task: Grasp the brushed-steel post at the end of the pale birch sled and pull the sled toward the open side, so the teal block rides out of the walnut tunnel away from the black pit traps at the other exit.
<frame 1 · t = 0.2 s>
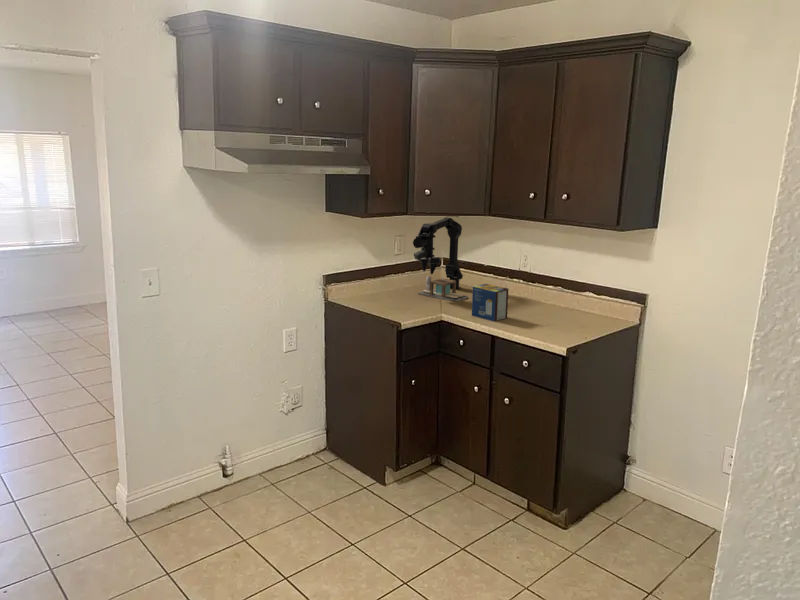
hand: (427, 272, 361), 13 cm above the worktop, fingers open, 9 cm apart
tunnel: (442, 296, 362), on the worktop
teal block: (442, 292, 362), point 2 cm above the worktop, touching sled
sled: (443, 286, 361), point 6 cm above the worktop, slide at 0.0 cm, touching teal block
protein box: (489, 317, 320), on the worktop
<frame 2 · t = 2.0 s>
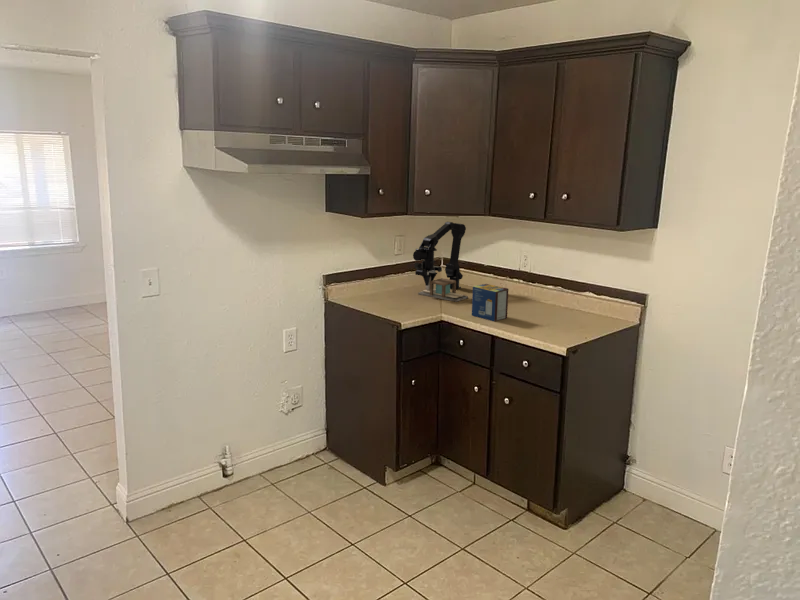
hand: (428, 285, 367), 5 cm above the worktop, fingers closed on sled, 3 cm apart
sled: (443, 286, 361), point 6 cm above the worktop, slide at 0.0 cm, touching gripper, teal block
everything else where it was.
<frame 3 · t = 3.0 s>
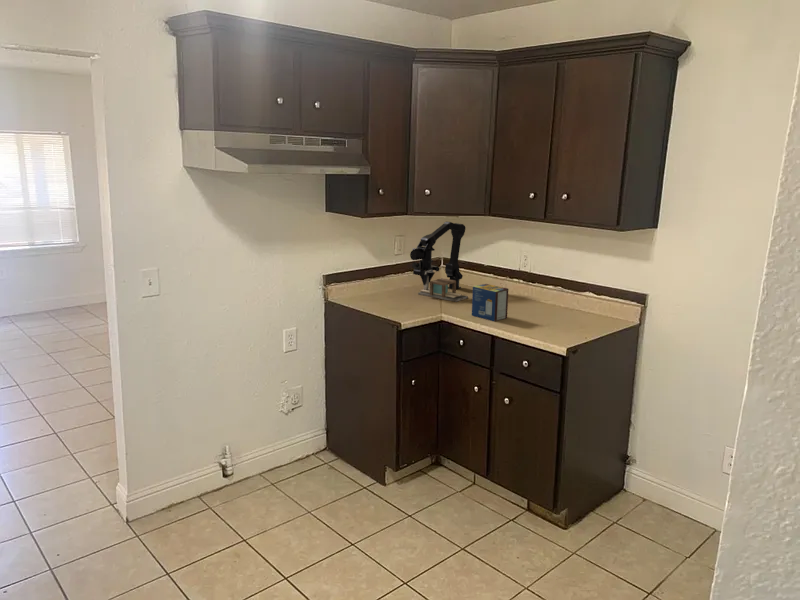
hand: (426, 284, 368), 5 cm above the worktop, fingers closed on sled, 3 cm apart
teal block: (440, 292, 363), point 2 cm above the worktop, touching sled
sled: (440, 286, 362), point 6 cm above the worktop, slide at -1.7 cm, touching gripper, teal block
everything else where it was.
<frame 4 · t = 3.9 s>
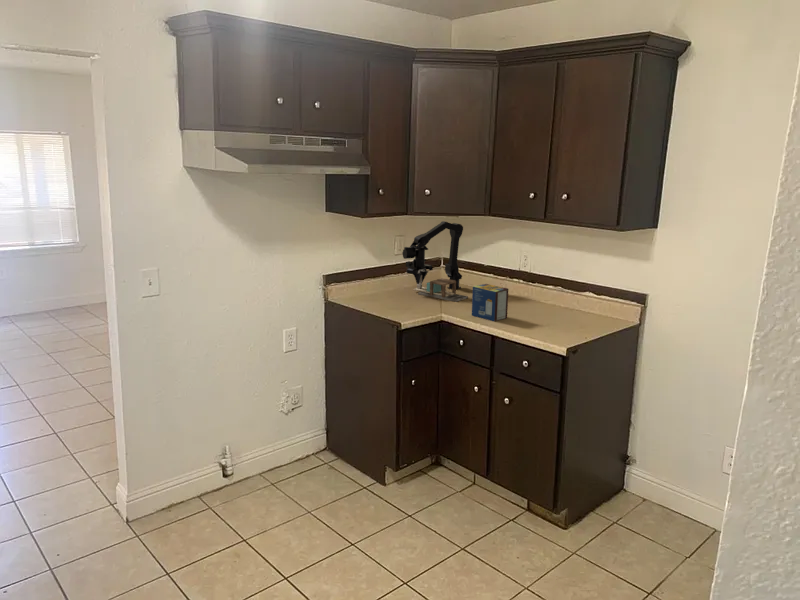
hand: (419, 283, 371), 5 cm above the worktop, fingers closed on sled, 3 cm apart
teal block: (433, 291, 366), point 2 cm above the worktop, touching sled
sled: (433, 284, 365), point 6 cm above the worktop, slide at -6.6 cm, touching gripper, teal block
everything else where it was.
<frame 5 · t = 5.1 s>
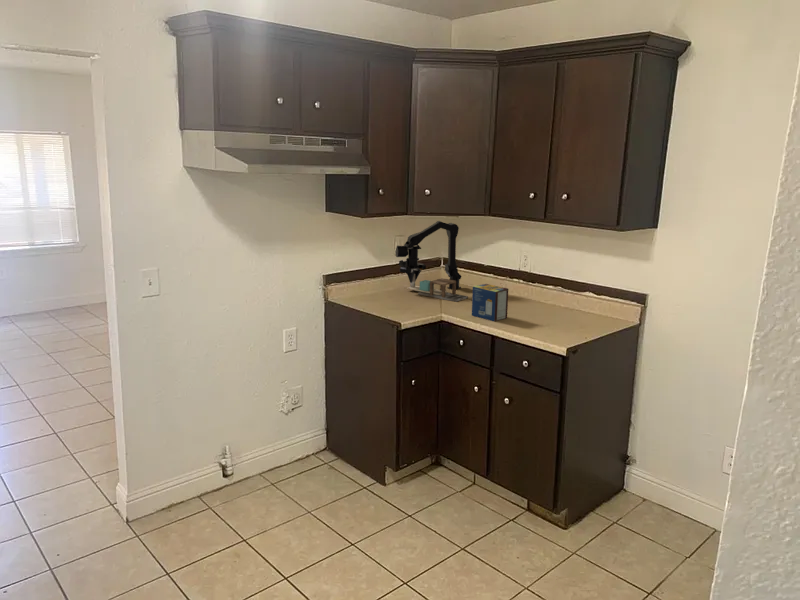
hand: (412, 282, 375), 5 cm above the worktop, fingers closed on sled, 3 cm apart
teal block: (426, 289, 369), point 2 cm above the worktop, touching sled
sled: (426, 283, 368), point 6 cm above the worktop, slide at -11.8 cm, touching gripper, teal block
everything else where it was.
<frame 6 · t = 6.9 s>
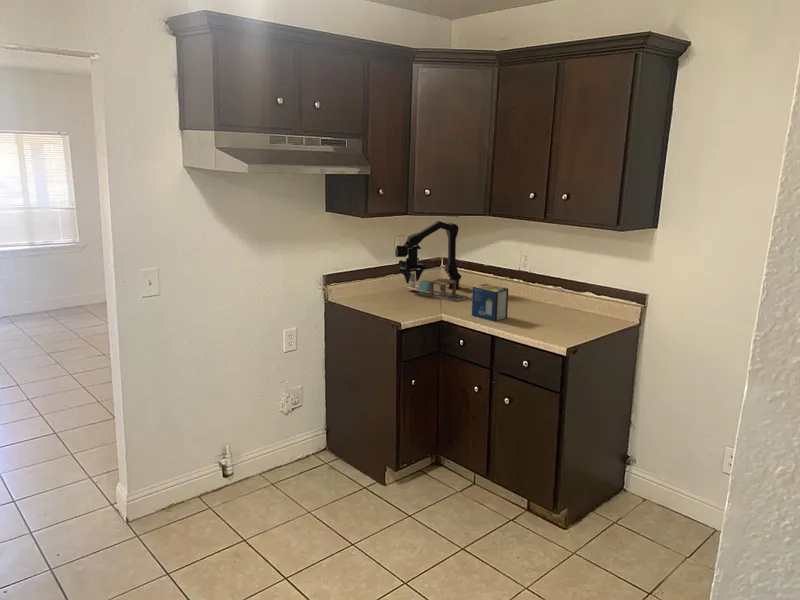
hand: (412, 282, 375), 5 cm above the worktop, fingers open, 9 cm apart
sled: (426, 283, 368), point 6 cm above the worktop, slide at -12.0 cm, touching teal block
everything else where it was.
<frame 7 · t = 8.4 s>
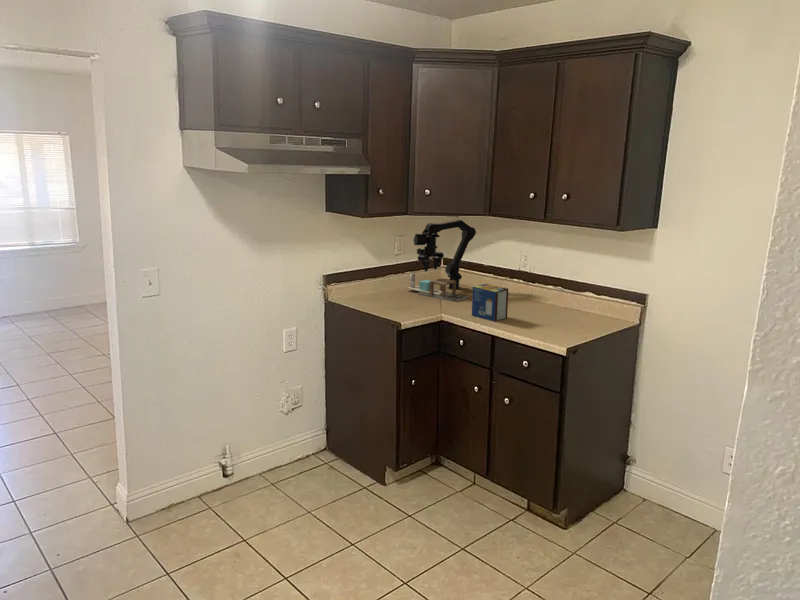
hand: (430, 270, 375), 12 cm above the worktop, fingers open, 9 cm apart
nothing on the worktop moved.
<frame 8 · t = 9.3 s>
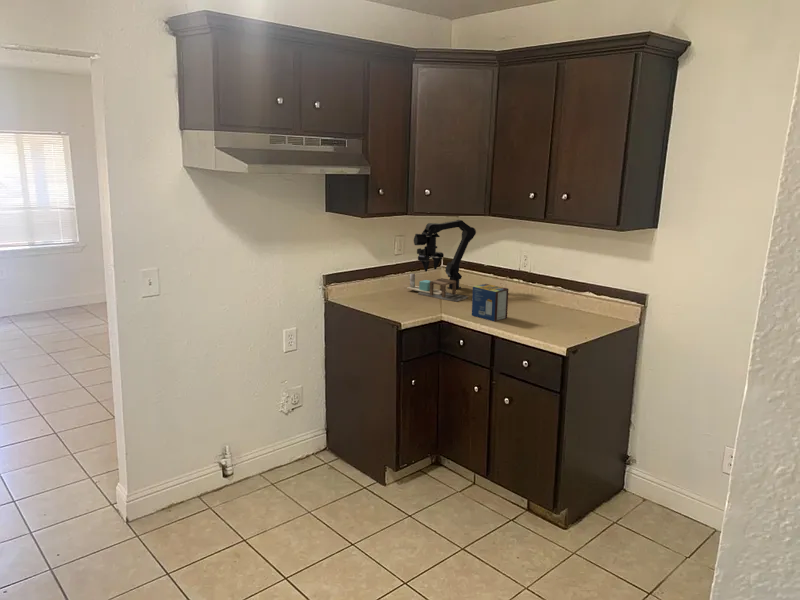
hand: (430, 270, 375), 12 cm above the worktop, fingers open, 9 cm apart
nothing on the worktop moved.
at the end: sled slide at -12.0 cm; teal block inside the target area (0.8 cm from its centre), point 2.0 cm above the worktop; teal block tilted 0° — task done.
